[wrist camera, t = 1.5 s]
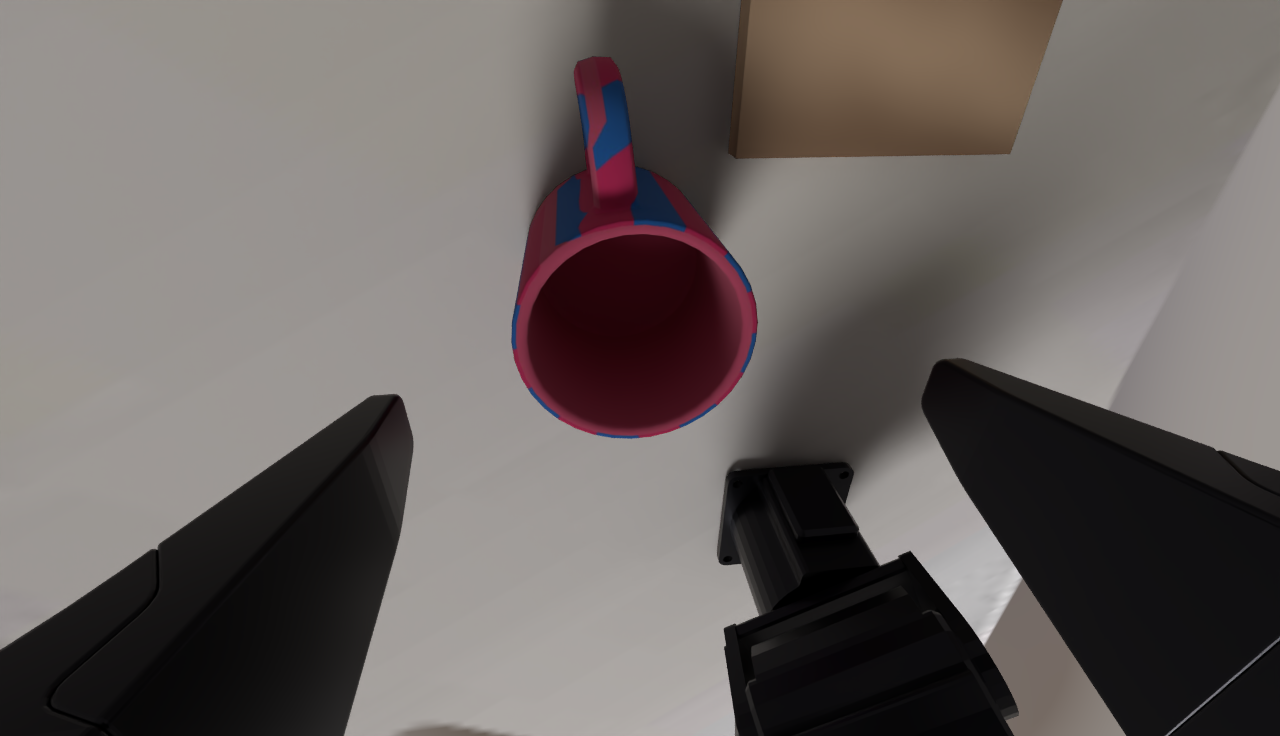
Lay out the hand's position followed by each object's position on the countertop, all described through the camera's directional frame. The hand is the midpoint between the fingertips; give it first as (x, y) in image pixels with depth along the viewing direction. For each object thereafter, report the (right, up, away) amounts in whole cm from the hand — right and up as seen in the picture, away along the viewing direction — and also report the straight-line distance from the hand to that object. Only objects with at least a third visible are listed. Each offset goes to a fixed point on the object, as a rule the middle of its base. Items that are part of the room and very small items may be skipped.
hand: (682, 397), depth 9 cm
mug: (-2, +6, +11) cm, 12 cm away
